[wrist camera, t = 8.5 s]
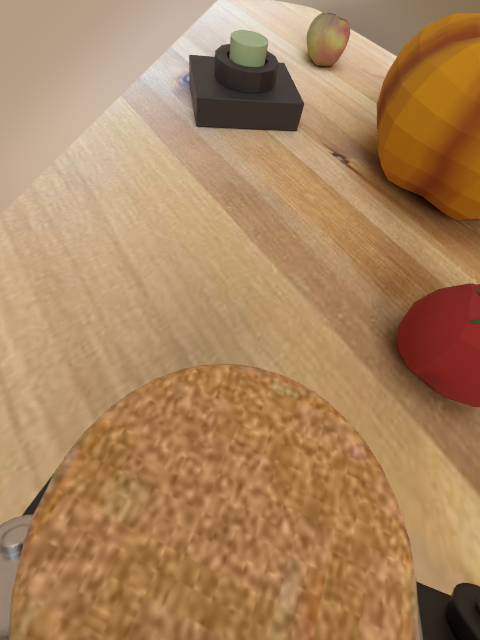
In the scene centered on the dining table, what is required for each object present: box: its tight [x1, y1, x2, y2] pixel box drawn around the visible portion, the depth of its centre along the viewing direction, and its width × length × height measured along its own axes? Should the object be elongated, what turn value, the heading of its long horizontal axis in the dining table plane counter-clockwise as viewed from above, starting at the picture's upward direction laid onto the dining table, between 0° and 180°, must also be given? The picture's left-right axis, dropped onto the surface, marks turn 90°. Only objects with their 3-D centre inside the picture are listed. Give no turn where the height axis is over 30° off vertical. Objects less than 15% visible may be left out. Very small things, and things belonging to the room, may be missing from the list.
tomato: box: [398, 284, 480, 407], centre depth 20 cm, size 8×8×7 cm
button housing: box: [189, 44, 304, 131], centre depth 36 cm, size 12×10×5 cm
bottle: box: [9, 364, 417, 640], centre depth 10 cm, size 6×6×15 cm
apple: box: [307, 13, 350, 67], centre depth 46 cm, size 6×8×6 cm
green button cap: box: [229, 30, 268, 67], centre depth 34 cm, size 4×4×2 cm
